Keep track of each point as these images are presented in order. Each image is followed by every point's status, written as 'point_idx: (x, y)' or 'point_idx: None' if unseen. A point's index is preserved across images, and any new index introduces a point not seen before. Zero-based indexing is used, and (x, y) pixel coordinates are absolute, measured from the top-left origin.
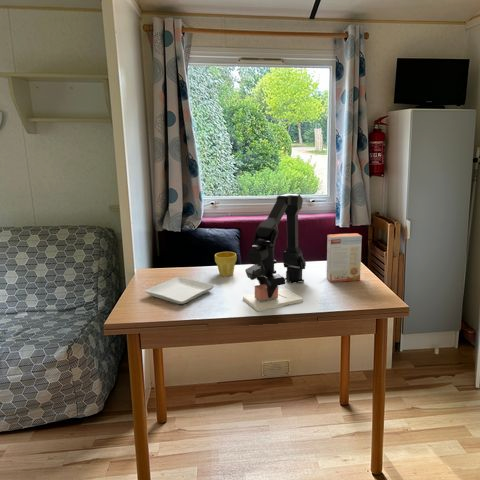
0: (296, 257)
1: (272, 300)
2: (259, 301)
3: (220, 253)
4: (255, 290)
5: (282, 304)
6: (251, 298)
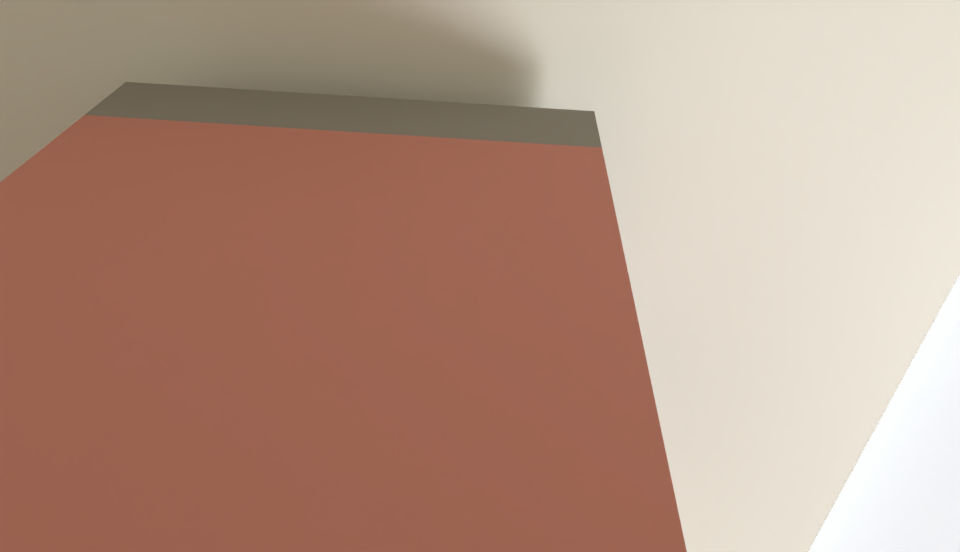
0: None
1: None
2: None
3: None
4: (518, 324)
5: None
6: (709, 5)
